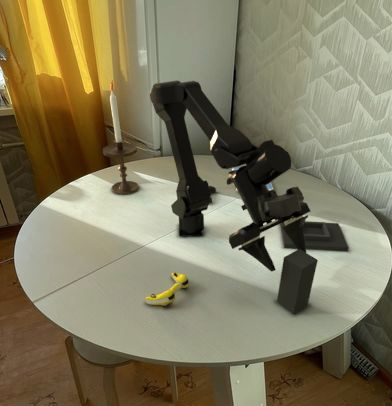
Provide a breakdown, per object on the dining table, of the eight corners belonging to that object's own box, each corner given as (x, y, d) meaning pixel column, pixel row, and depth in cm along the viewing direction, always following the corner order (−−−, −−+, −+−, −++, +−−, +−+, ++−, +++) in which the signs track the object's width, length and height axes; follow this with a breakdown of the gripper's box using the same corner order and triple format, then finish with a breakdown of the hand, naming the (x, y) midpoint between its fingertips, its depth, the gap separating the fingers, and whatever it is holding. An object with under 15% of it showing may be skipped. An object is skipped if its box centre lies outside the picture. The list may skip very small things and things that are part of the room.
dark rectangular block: (276, 302, 75) (283, 257, 69) (290, 293, 78) (299, 248, 71) (293, 314, 72) (302, 268, 66) (307, 304, 74) (318, 259, 68)
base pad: (284, 247, 92) (285, 239, 90) (280, 223, 102) (281, 215, 100) (347, 251, 90) (350, 242, 89) (337, 226, 100) (339, 218, 99)
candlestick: (125, 179, 128) (111, 75, 109) (147, 187, 123) (137, 78, 104) (102, 190, 121) (83, 81, 102) (125, 199, 116) (109, 85, 96)
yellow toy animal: (171, 311, 72) (164, 297, 71) (149, 309, 76) (143, 296, 75) (196, 284, 79) (191, 270, 78) (175, 283, 83) (170, 270, 82)
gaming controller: (213, 202, 111) (200, 189, 109) (201, 211, 114) (188, 199, 112) (217, 189, 119) (205, 176, 117) (206, 198, 122) (194, 186, 120)
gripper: (241, 190, 61) (283, 272, 60) (310, 164, 70) (347, 235, 69) (212, 212, 71) (247, 283, 69) (276, 187, 80) (308, 249, 78)
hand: (289, 262), depth 71 cm, fingers open, 9 cm apart
